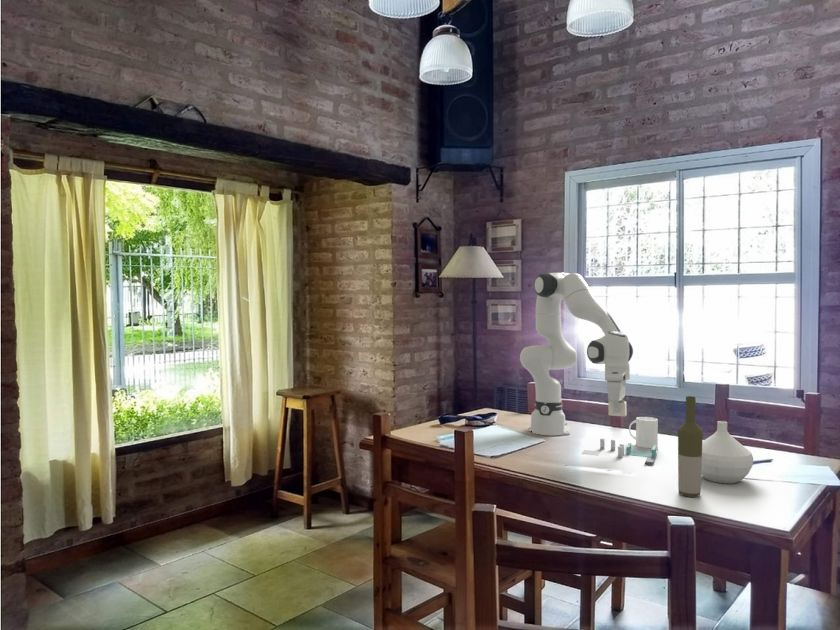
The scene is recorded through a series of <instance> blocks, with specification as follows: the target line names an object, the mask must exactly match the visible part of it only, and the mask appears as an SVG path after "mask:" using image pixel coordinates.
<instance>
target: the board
mask: <svg viewBox="0 0 840 630" xmlns="http://www.w3.org/2000/svg"><path fill="white" fill-rule="evenodd" d="M605 441H606V440H605V438H600V440H599V443H600V444H599V447H600V448H599V449H600V450H602V451H603V450H605V448H606V447H605ZM610 451H613V452H614V451H616V439H610ZM650 452H651V453H652V451H650ZM600 453H601V451H597V450H589V449H584V450H583V451H581V455H590V456H598V455H599V454H600ZM657 453H658V452H656V456H655V458H651V457H646V460H645V462H644V465H645V466H646V465H647V466H654V465H655V464H654V463H655V461H656V459H657ZM623 456H625V444H623V443H620V444H619V445H618V446H617V458H618V459H623Z"/></svg>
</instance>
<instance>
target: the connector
mask: <svg viewBox="0 0 840 630" xmlns="http://www.w3.org/2000/svg"><path fill="white" fill-rule="evenodd" d="M607 407H608V408H607V409H608V416H611V417H612V416H614V417H626V416H627V414H628V413H627V407H628V405H627V401H626V400H622V401H619V412H618V413H615V412H614V407H613V402H609V401H608V406H607Z"/></svg>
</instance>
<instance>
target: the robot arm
mask: <svg viewBox="0 0 840 630" xmlns="http://www.w3.org/2000/svg"><path fill="white" fill-rule="evenodd" d="M533 287H534V291H535V293H536V300H535V301H536V302H535V331H536V332H537V334H538V335H539V336H541V337H542V338H544V339H546V340H547V344H545V345H544V344H541V345H540V344H539V345H538V344H537V345H530V346H529V345H528V346H526V347H523V349H521V352H520V355H519V361H520V363H521V366H522V367H523V368H524V369H525V370H527V371H528V372H529V374H530V375H531V376H532V379H533V382H534V388H535V389H534V390H535V400H534V410H533V411H532V412H531V413H530V414H531V416H530V427H526V429H527V430H529V431H528V432H531V431H532V432H531V433H532V434H535V433H536V434H535V435H539V434H540V435H541V436H562V435H566V436H567V435H570V433H571V426H570V425H568V423H567V422H566V414H565V413H564V411H563V400H562V386H561V383H560V381H559V380H557V379H556V378H554V377H552V376H551V375H550V371H551V370H552V371H553V370H554V371H556V370H557V371H558V370H560V371H561V370H567V369H571V368H574V366H575V365H576V364H577V361H578V354H577V351H576V350H575V348H574V347H573V346H572V345H571V344H569V343H568V342H567V340H566V338H565V336H564V334H563V329H562V312H561V311H562V309H561V308H562V307H561V304H562V301H563V300H564V301H565V304H566V306H567V309H568V310H569V312H570V314H571V315H573V316H574V317H575V318H577V319H581V320H583V321H584V320H585V321H587V322H591V323H593V324H595V325H597V326H598V327H599V328H600V329H601V331H602V332H603V334H604V335H603V336H601V337H599V338H598V339H594V340H592V341H590V342H589V343H588V345H587V348H586V355H587V358H588V361H590V362H591V363H592V364H595V365H604V380H605V382H606V388H607V397H608V398H607V399H608V402H613V407H614V412H615V413H618V412H619V401H623V399H624V397H625V396H626V384H627V381H628V380H630V379H631V377H630V363H629V362H630V361H631V359H632V357H633V353H634V348H633V345H632V344H631V342H630V341H629V336H628V335H627V334H626V333H625V332H623V331H621V329H620V328H619V327H618V325H617V323H616V321H615V320H614V319H613V317H612V316H611V314H610V312H609V311H608V310H607V309H606V308H605V307H604V306H603V305H602V304H600V302H598V300H597V299H596V297H595V296H594V295H593V293H592V290H591V289H590V287H589V285H588V283H587V282H586V280H585V279H584V277H583V276H582V275H581V274H579V273H578V272H577V273H576V272H561V271H558V272H542V273H540V274H538V275H536V277H535V279H534V282H533Z"/></svg>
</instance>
